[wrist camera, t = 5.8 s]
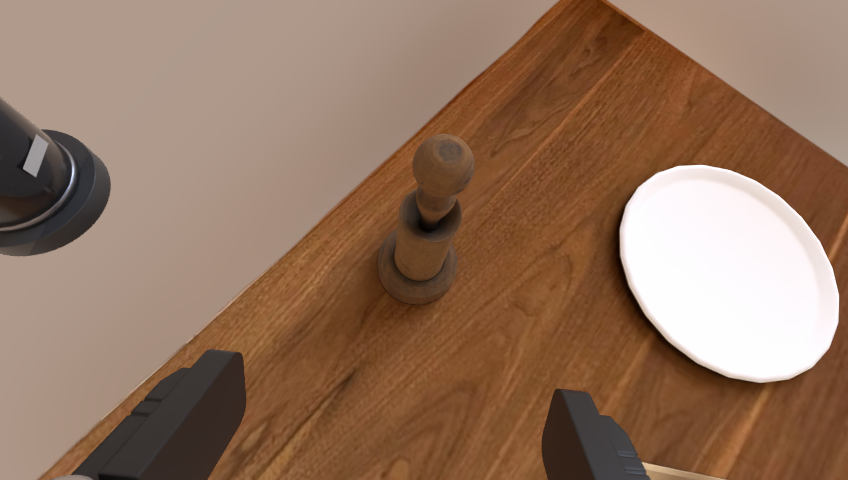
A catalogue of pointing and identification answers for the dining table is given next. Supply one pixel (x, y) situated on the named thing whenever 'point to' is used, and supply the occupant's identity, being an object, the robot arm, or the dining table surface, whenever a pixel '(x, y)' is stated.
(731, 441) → the dining table surface
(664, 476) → the cutting board
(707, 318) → the plate
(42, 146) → the robot arm
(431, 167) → the mortar and pestle
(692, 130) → the dining table surface
